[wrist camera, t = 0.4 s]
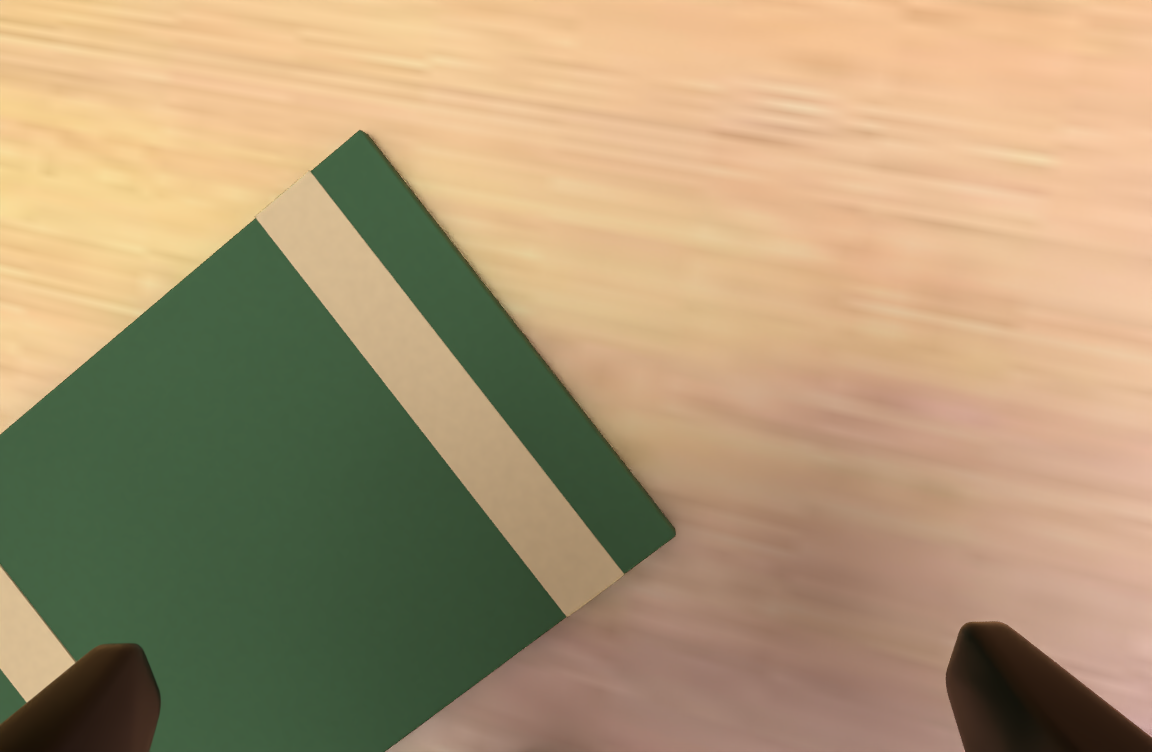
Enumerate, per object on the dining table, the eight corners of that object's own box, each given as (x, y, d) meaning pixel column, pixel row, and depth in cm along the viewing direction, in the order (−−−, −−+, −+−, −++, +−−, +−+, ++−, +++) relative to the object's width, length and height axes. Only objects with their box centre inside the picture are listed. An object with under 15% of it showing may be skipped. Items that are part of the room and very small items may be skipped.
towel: (676, 529, 23) (677, 536, 23) (150, 920, 26) (137, 936, 25) (366, 133, 23) (358, 127, 23) (-133, 556, 26) (-154, 562, 25)
